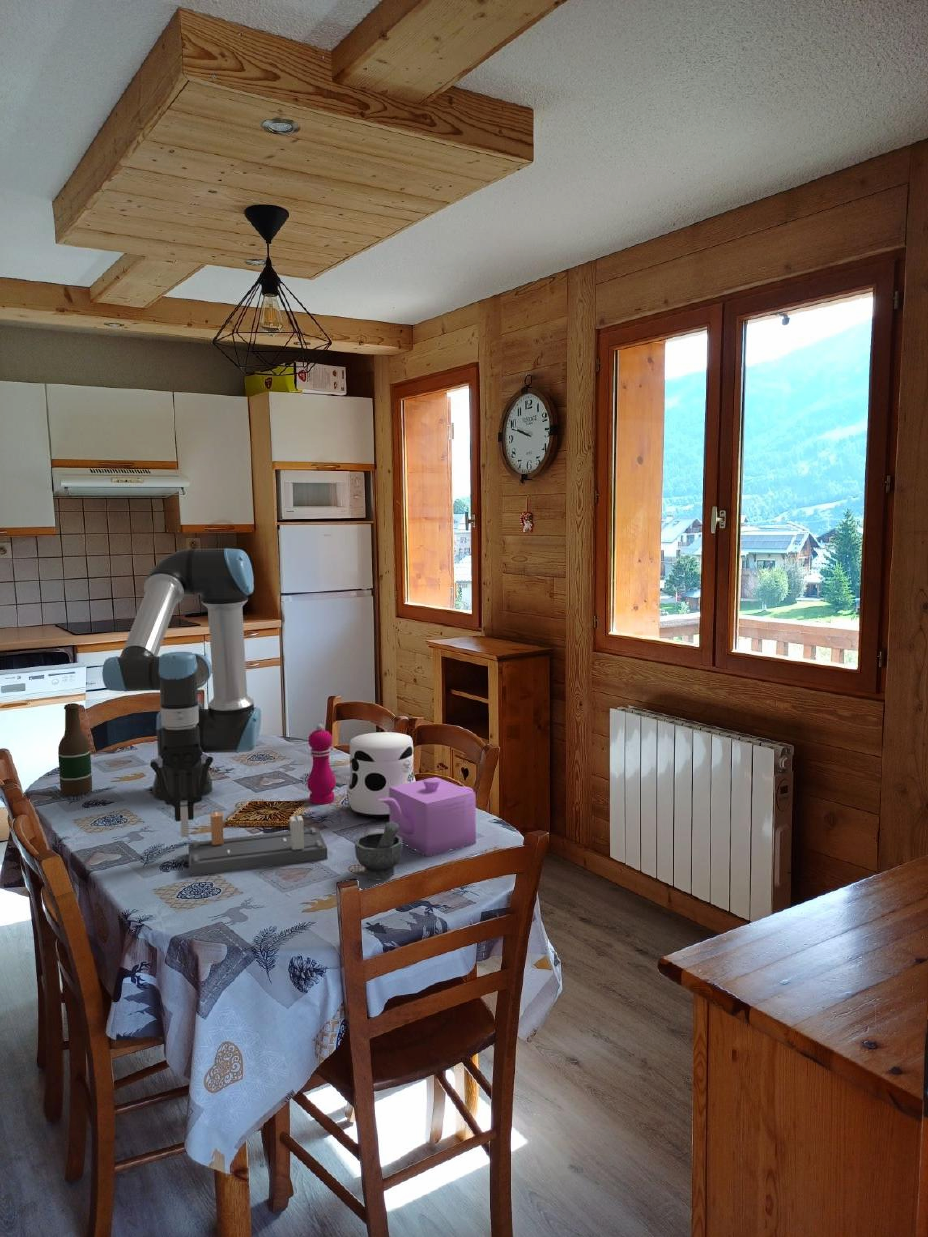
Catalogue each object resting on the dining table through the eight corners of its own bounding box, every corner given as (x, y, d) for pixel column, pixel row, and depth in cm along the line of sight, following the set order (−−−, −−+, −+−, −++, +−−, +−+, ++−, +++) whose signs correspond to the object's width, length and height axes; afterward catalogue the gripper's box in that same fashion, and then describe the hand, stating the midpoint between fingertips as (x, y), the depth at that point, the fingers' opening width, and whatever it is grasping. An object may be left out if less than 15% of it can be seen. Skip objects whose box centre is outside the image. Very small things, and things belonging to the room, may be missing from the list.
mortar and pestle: (347, 872, 181) (345, 815, 180) (385, 861, 187) (384, 805, 186) (376, 889, 173) (375, 830, 171) (416, 877, 178) (415, 819, 177)
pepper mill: (330, 805, 224) (328, 728, 221) (303, 804, 225) (301, 727, 223) (340, 797, 231) (338, 721, 228) (313, 795, 232) (311, 720, 230)
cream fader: (290, 845, 189) (289, 816, 189) (302, 843, 190) (301, 815, 189) (292, 850, 186) (291, 820, 186) (304, 848, 187) (303, 819, 186)
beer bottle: (54, 795, 235) (48, 706, 232) (76, 787, 242) (71, 700, 239) (76, 798, 232) (71, 708, 229) (98, 790, 239) (94, 702, 236)
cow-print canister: (432, 809, 220) (431, 738, 218) (379, 827, 207) (378, 752, 205) (385, 795, 232) (384, 727, 230) (333, 811, 219) (331, 740, 217)
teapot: (362, 844, 197) (361, 783, 195) (453, 821, 212) (453, 763, 210) (398, 865, 185) (397, 800, 183) (493, 839, 200) (492, 778, 198)
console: (188, 853, 192) (188, 840, 192) (318, 838, 201) (317, 825, 200) (189, 876, 180) (189, 862, 180) (327, 858, 188) (327, 845, 188)
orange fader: (211, 840, 193) (210, 812, 192) (223, 839, 193) (221, 811, 193) (212, 845, 190) (210, 816, 189) (223, 843, 190) (222, 815, 190)
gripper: (147, 732, 181) (152, 844, 183) (213, 727, 185) (217, 837, 187) (148, 724, 188) (153, 832, 191) (211, 720, 192) (216, 826, 194)
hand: (185, 834), depth 189 cm, fingers closed
